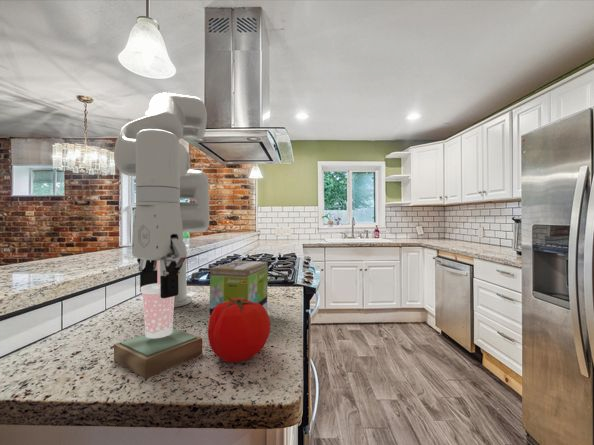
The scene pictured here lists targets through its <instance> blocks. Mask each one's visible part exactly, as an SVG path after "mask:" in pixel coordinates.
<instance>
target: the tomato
mask: <svg viewBox="0 0 594 445" xmlns="http://www.w3.org/2000/svg"><path fill="white" fill-rule="evenodd" d="M226 297H227V296H226ZM227 298H228V299H229V300H230V301H228V302H225V303H220V304H218V305H217V306H216V307H215V308H214V310H213V312H212V314H211V316H210V319H209V320H208V327H207V335H208V336H207V338H208V343H209V347H210V349H211V350H212V352H213V353H214V355H215V356H216V357H218V359H220V360H222V361H225V362H226V363H231V364H232V363H240V362H245V361H247V360H250V359H252V358H254V357H255V356H256V355H258V354H259V353H260V352H261V351H262V350H264V347H265V345H266V344H267V341H268V340H269V337H270V334H271V320H270V316H269V313H268V310H267V311H266V310H265V308H264V307H263V306H262V305H260V304H259V303H254V302H251V301H249V300H246V299H247V298H246V299H239V298H235V299H230V298H229V297H227Z"/></svg>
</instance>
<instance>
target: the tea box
mask: <svg viewBox="0 0 594 445" xmlns="http://www.w3.org/2000/svg"><path fill="white" fill-rule="evenodd" d="M268 264H269V263H268V261H255V260H254V261H253V260H252V261H251V260H250V261H247V260H245V261H244V260H235V261H232V262H231V261H230V262H227V263H224V264H220V265H217V266H213V267H210V274H209V276H210V277H209V278H210V279H209V317H208V318H209V319H210V316H211V314H212V312H213V310H214V308H215V307H216V306H217V305H218V304H220V303H225V302H228V301H230V300H229V299H228V298H227V297H229V298H230V299H235V298H239V299H246V298H247V299H246V300H249V301H251V302H254V303H259V304H260V305H262V306H263V307H264V308H265V310H266V311H267V312H268V284H269V281H268V276H269V275H268V274H269V272H268V271H269V267H268ZM226 296H227V297H226Z"/></svg>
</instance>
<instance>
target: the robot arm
mask: <svg viewBox="0 0 594 445" xmlns="http://www.w3.org/2000/svg"><path fill="white" fill-rule="evenodd" d="M207 121H208V112H207V107H206V105H205V103H204V102H203V101H202V99H201V98H199V97H197V96H190V95H184V94H177V93H171V92H168V93H167V92H162V93H161V92H160V93H158V94H154V96H153V97H152V98H151V100H150V102H149V107H148V110H146V111H145V113H144V116H142V117H140V118H137V119H134V120H132V121H130V122H128V123H125V125H123V126H122V127H121V128H120V130H119V133H118V136H117V138H116V140H115V141H116V142H115V145H114V150H113V160H114V164H115V167H116V169H117V171H119V172H120V173H121V174H123V175H126V176H131V177H135V208H134V209H135V210H134V215H133V221H132V222H133V224H132V235H131V236H132V238H131V239H132V240H131V254H132V256H133V257H134V258H136V260H137V261H136V262H137V263H138V271H139V291H140V293H141V287H142V286H145V285H149V284H155V283H157V261H158V260H160V291H161V298H168V297H173V296H175V297H174V308H178V307H179V308H180V307H182V306H186V305H188V304H190V303H191V302H192V300H193V297H192V296H190V295H187V289H188V288H187V283H188V282H187V281H188V280H187V257H188V256H187V246H186V243H185V242H184V235H183V233H203V232H206V231H207V230H208V229H209V226H210V186H209V178H208V175H207V174H206V172H204V171H202V170H200V169H191V163H192V162H191V155H190V152H189V151H188V150H187V148H186V147H185V146H184V145H183V144H182V143H181V142H180V140H190V141H199V140H202V139H203V138H204V136H205V134H206V129H207V123H208V122H207ZM181 200H192V201H194V202H181Z"/></svg>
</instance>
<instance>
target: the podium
mask: <svg viewBox="0 0 594 445" xmlns="http://www.w3.org/2000/svg"><path fill="white" fill-rule="evenodd" d="M200 355H203V337H201V336H197V335H195V334H192V333H190V332H189V333H188V332H185V331H184V330H183V331H182V330H180V329H178V328H174V327H173V331H172V334H170V335H168V336H165V337H162V338H154V339H153V338H147V337H146V336H145V333H144V334H142V335H138V336H135V337H132V338H129V339H125V340H122V341H120V342H117V343H114V344H113V361H114V362H115V363H117V364H119V365H121V366H123V367H125V368H126V369H127V370H130V371H132V372H134V373H135V374H137V375H139V376H141V377H142V378H144V379H147V378H150V377H152V376H155V375H157V374H159V373H161V372H164V371H166V370H168V369H170V368H172V367H176V366H177V365H179V364H183V363H184V362H186V361H189V360H191V359H193V358H195V357H198V356H200Z"/></svg>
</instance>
